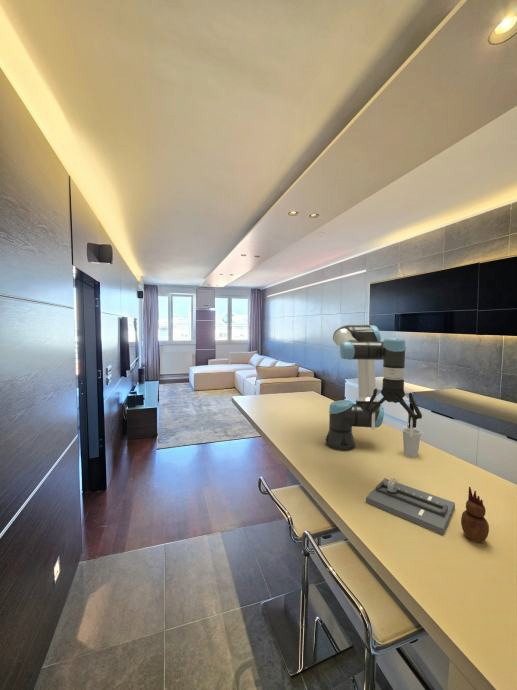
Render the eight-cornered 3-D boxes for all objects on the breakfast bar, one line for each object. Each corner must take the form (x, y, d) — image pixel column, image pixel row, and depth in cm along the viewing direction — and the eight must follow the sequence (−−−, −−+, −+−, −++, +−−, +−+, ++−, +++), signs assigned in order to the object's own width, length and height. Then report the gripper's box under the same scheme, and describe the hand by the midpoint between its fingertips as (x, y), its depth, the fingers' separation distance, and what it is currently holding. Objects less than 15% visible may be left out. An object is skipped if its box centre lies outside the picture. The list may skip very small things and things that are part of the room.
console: (365, 502, 106) (366, 493, 106) (384, 482, 119) (384, 474, 119) (443, 535, 90) (443, 524, 89) (454, 508, 103) (455, 498, 102)
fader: (385, 493, 108) (386, 481, 107) (390, 488, 111) (390, 477, 111) (394, 497, 106) (394, 484, 105) (398, 492, 109) (398, 479, 108)
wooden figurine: (456, 530, 92) (458, 484, 90) (473, 529, 92) (476, 483, 91) (473, 547, 85) (476, 497, 84) (492, 545, 85) (495, 496, 84)
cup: (422, 459, 140) (423, 434, 139) (404, 457, 141) (405, 433, 141) (416, 452, 148) (417, 428, 147) (399, 450, 149) (400, 427, 148)
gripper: (357, 376, 117) (356, 429, 118) (430, 383, 104) (428, 442, 105) (361, 373, 123) (360, 423, 124) (431, 379, 110) (428, 435, 111)
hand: (391, 432), depth 115 cm, fingers open, 13 cm apart
